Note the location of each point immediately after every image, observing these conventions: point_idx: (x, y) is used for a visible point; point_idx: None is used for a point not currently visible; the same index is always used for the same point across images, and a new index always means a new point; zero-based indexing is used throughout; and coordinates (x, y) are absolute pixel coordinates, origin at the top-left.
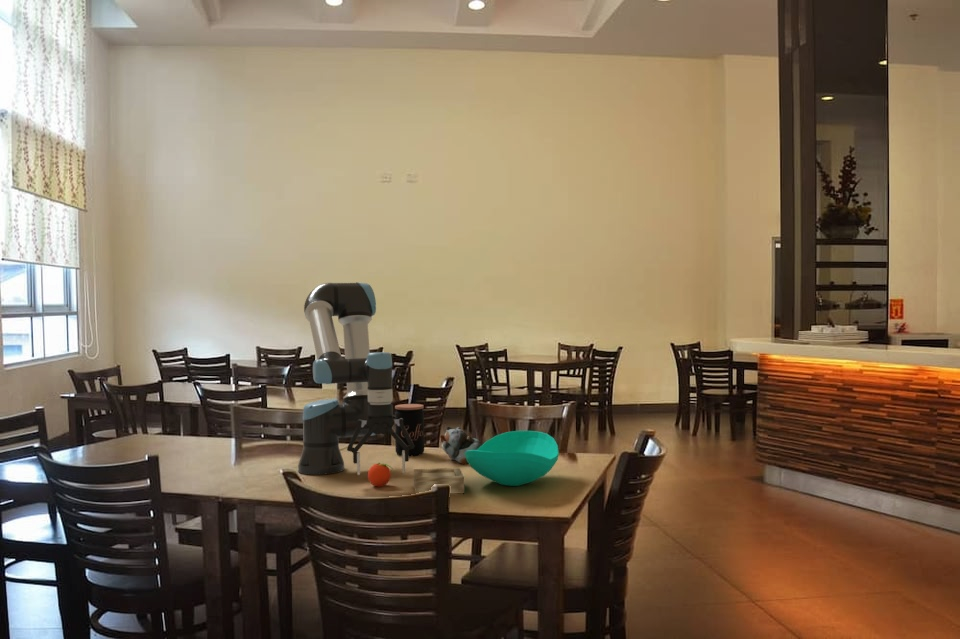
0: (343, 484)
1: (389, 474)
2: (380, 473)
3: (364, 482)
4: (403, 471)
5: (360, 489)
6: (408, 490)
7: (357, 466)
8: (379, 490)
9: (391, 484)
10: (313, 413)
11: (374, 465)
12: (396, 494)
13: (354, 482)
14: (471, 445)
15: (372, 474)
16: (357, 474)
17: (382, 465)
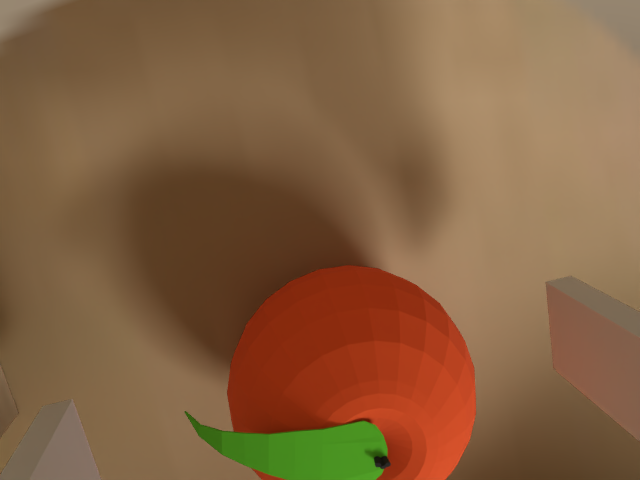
0: None
1: (231, 370)
2: (320, 297)
3: (481, 454)
4: (57, 413)
5: (473, 207)
6: (8, 193)
7: (630, 308)
8: (296, 178)
9: None
10: None
11: (428, 405)
12: (84, 12)
13: (559, 445)
14: None
15: (411, 293)
16: (572, 277)
17: (323, 413)
